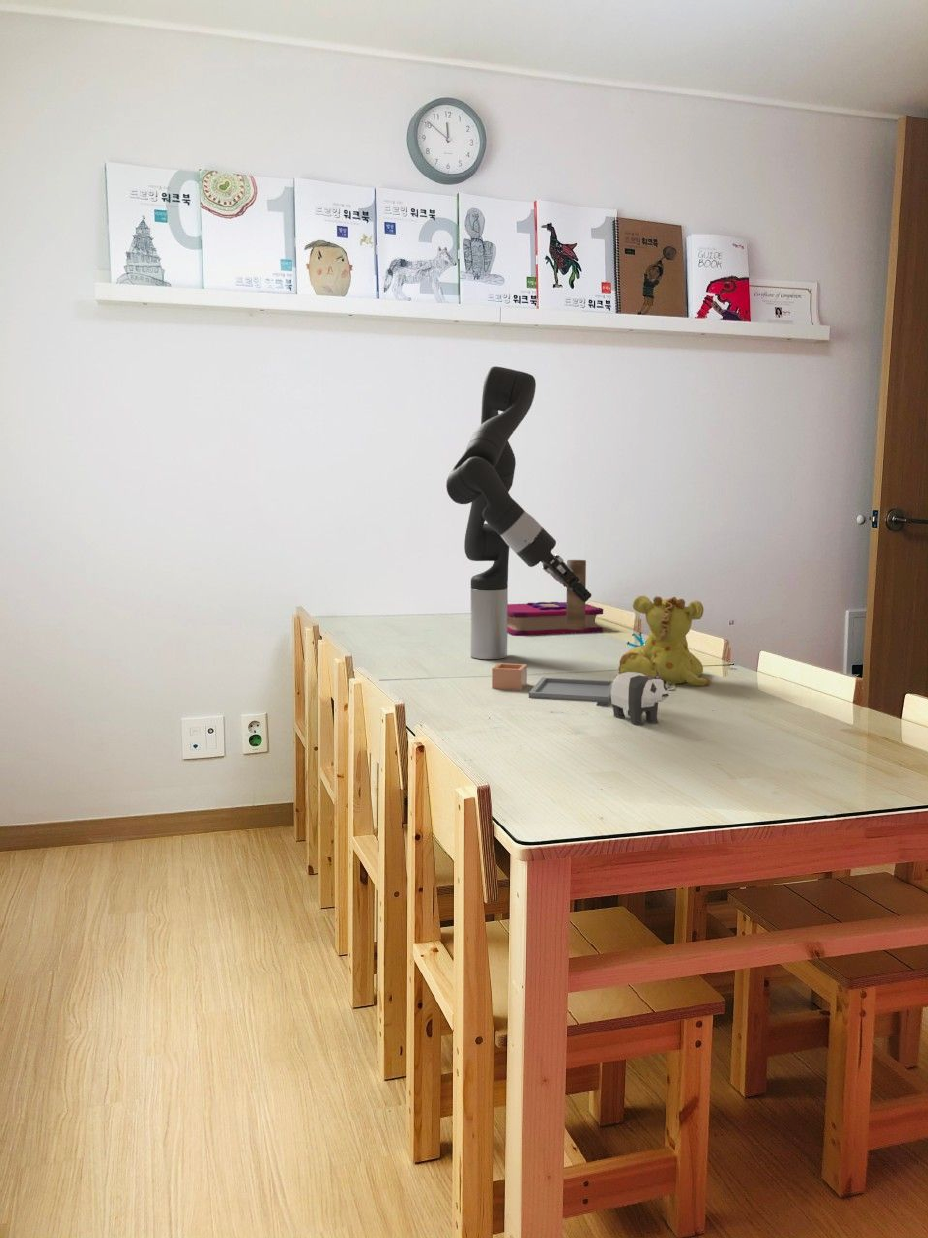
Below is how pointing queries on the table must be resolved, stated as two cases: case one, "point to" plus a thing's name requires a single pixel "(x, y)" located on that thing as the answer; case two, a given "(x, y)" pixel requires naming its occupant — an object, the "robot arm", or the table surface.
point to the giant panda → (637, 696)
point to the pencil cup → (509, 676)
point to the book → (547, 619)
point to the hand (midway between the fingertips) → (585, 597)
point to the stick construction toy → (638, 640)
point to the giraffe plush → (666, 643)
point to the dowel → (576, 597)
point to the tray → (573, 690)
